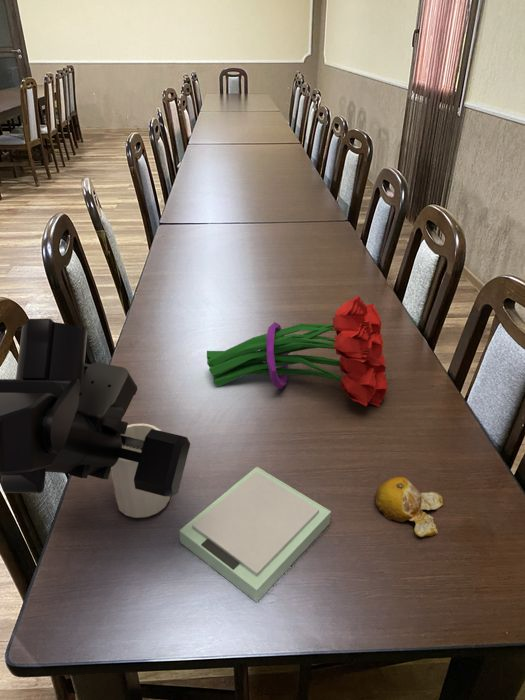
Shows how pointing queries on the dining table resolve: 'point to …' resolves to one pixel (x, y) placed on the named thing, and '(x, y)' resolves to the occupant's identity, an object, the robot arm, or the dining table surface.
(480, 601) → the dining table surface
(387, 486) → the fruit
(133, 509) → the cream faceted cup
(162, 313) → the dining table surface
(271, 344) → the bouquet
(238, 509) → the scale
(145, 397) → the dining table surface
